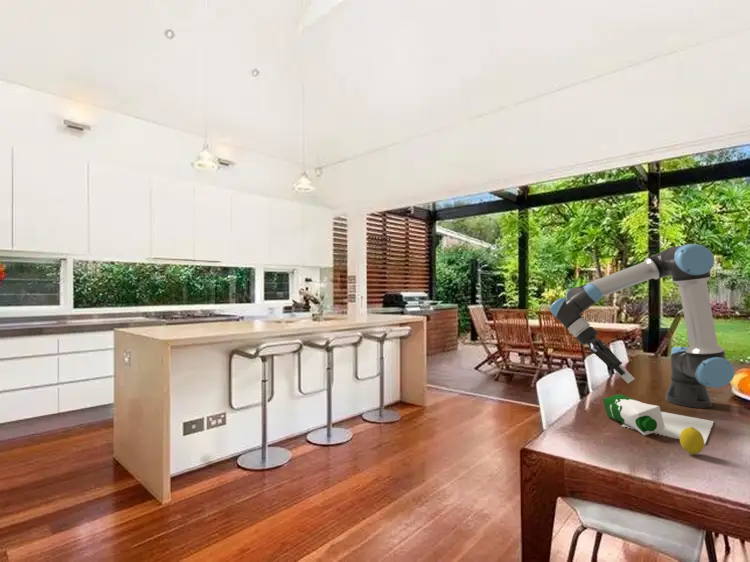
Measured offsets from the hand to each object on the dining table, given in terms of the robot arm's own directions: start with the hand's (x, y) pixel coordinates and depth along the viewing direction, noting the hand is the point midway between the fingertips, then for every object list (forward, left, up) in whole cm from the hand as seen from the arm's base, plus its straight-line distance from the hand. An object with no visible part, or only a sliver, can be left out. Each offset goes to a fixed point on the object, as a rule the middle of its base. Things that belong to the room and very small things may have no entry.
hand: (631, 381), depth 153 cm
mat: (-11, 0, -13) cm, 17 cm away
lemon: (-21, +26, -13) cm, 36 cm away
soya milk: (+5, +5, -9) cm, 11 cm away
